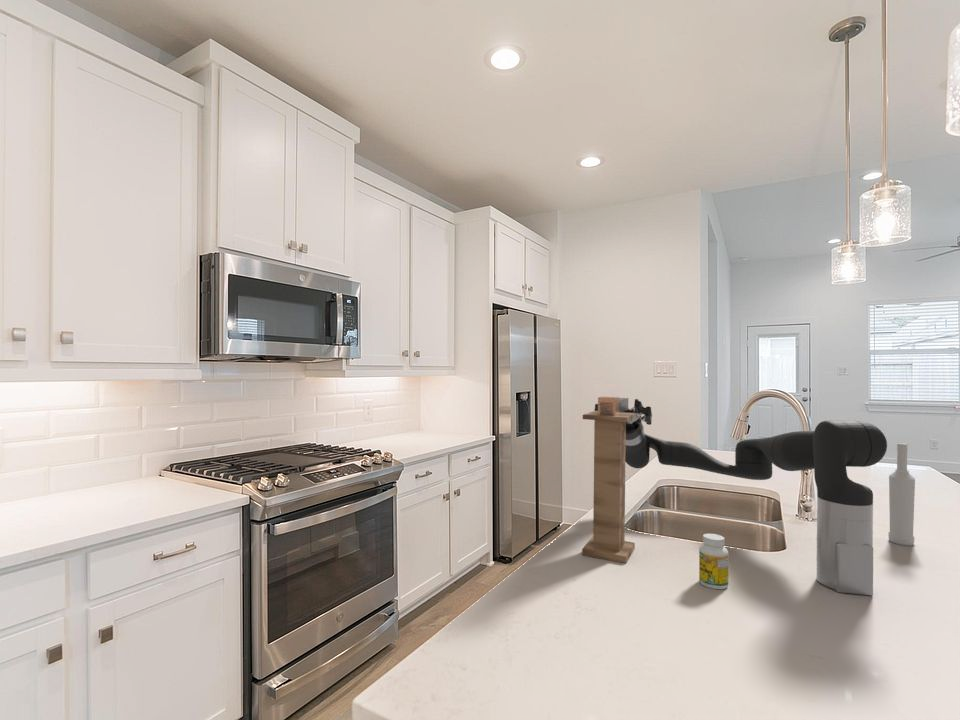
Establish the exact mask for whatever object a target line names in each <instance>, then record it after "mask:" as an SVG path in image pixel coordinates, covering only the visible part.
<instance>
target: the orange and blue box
mask: <svg viewBox="0 0 960 720" xmlns="http://www.w3.org/2000/svg"><path fill="white" fill-rule="evenodd" d="M597 404H598V415H609V416H616V415H619V413H621V412H624V411H626V410H628V409H629V398H628V397H619V396H617V397H616V396H598V397H597Z"/></svg>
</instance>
